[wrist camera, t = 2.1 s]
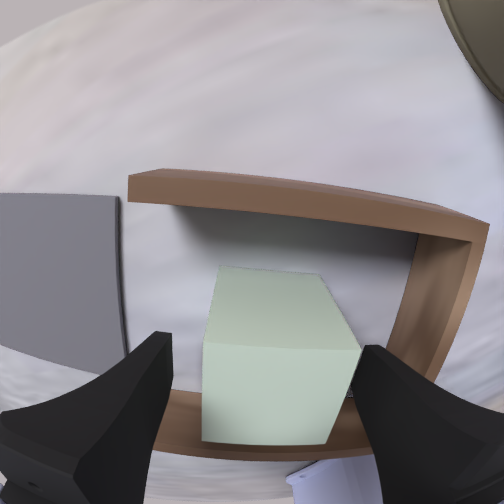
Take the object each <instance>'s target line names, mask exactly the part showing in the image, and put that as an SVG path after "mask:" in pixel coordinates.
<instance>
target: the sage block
mask: <svg viewBox="0 0 504 504" xmlns="http://www.w3.org/2000/svg"><path fill="white" fill-rule="evenodd" d="M361 351H362V349H361V347H360V346H359V344H358V342H357V340H356V338H355V336H354V335H353V333H352V331H351V329H350V327H349V326H348V324H347V322H346V320H345V319H344V317H343V315H342V313H341V311H340V310H339V308H338V306H337V304H336V303H335V301H334V299H333V297H332V296H331V294H330V292H329V291H328V289H327V287H326V285H325V284H324V282H323V280H322V279H321V277H320V275H319V274H308V273H296V272H285V271H273V270H262V269H251V268H240V267H229V266H219V270H218V275H217V279H216V284H215V288H214V293H213V297H212V302H211V307H210V311H209V316H208V321H207V326H206V330H205V335H204V340H203V363H202V441H208V442H218V443H231V444H248V445H316V444H325V443H326V441H327V439H328V436H329V434H330V432H331V430H332V427H333V425H334V423H335V420H336V418H337V415H338V413H339V411H340V408H341V406H342V403H343V401H344V398H345V396H346V393H347V390H348V388H349V385H350V382H351V380H352V377H353V374H354V371H355V369H356V366H357V363H358V360H359V357H360V354H361Z"/></svg>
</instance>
